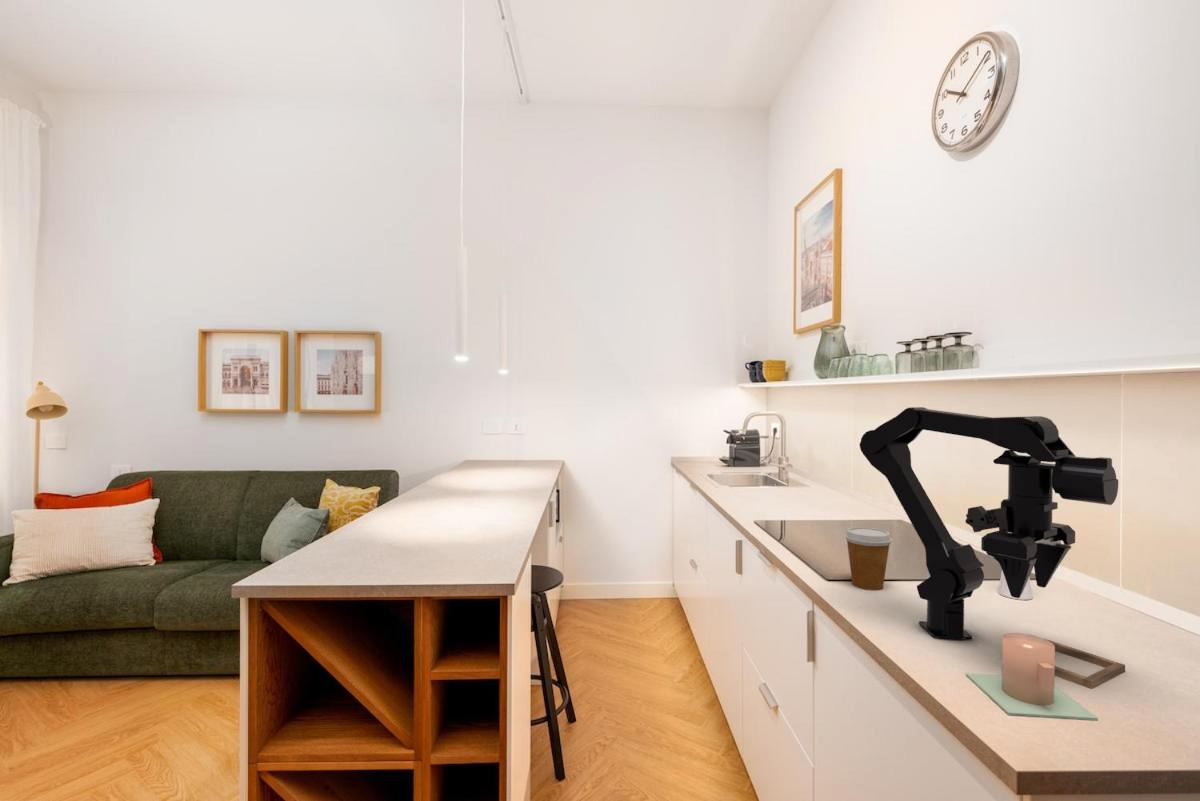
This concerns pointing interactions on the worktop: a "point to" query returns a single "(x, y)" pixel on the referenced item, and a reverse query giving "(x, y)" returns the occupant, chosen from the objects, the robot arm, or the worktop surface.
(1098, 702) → the worktop surface
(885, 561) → the disposable coffee cup
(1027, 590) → the cosmetic bottle
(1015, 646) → the peach round cylinder
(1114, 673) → the walnut collar
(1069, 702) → the sage mat
